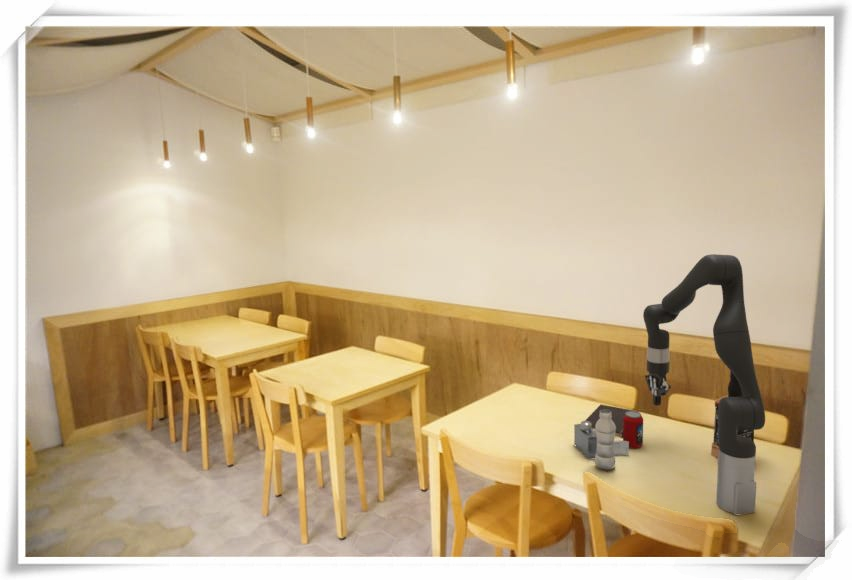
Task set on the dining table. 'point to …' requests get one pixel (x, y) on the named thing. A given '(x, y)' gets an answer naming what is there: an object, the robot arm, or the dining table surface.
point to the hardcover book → (616, 418)
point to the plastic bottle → (605, 441)
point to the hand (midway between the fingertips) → (656, 404)
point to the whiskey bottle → (733, 391)
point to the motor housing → (594, 441)
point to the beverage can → (633, 429)
